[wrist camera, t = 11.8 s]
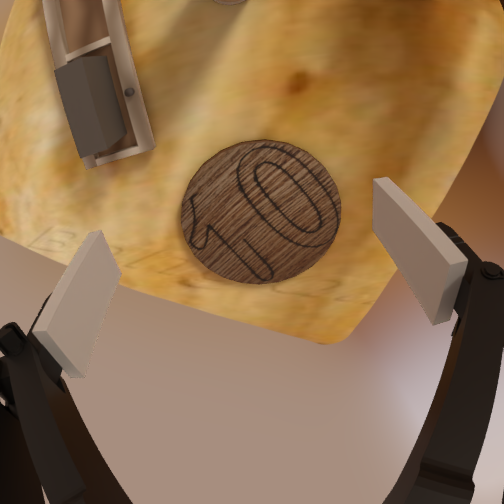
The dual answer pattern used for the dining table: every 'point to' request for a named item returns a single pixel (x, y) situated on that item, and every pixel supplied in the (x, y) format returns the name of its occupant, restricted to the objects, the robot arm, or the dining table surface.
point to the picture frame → (90, 104)
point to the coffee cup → (229, 2)
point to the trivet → (260, 212)
